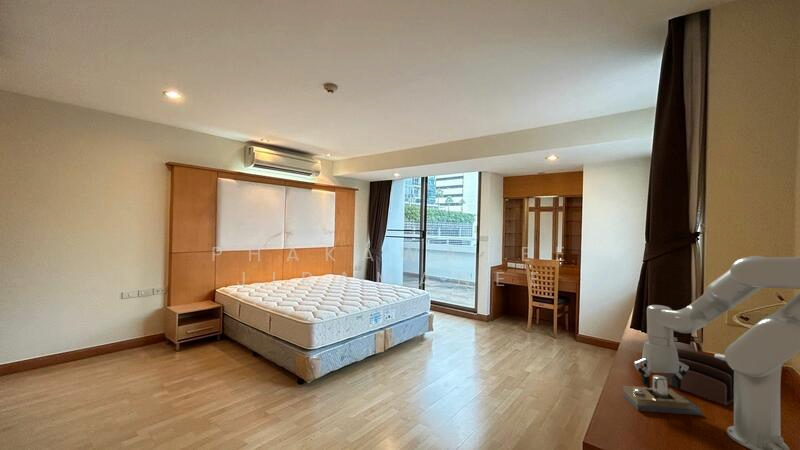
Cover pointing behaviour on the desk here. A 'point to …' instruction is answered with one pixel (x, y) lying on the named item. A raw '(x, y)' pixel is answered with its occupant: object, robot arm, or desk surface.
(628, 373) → the desk surface
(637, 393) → the square hole plate
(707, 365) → the letter holder
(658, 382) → the steel pin
